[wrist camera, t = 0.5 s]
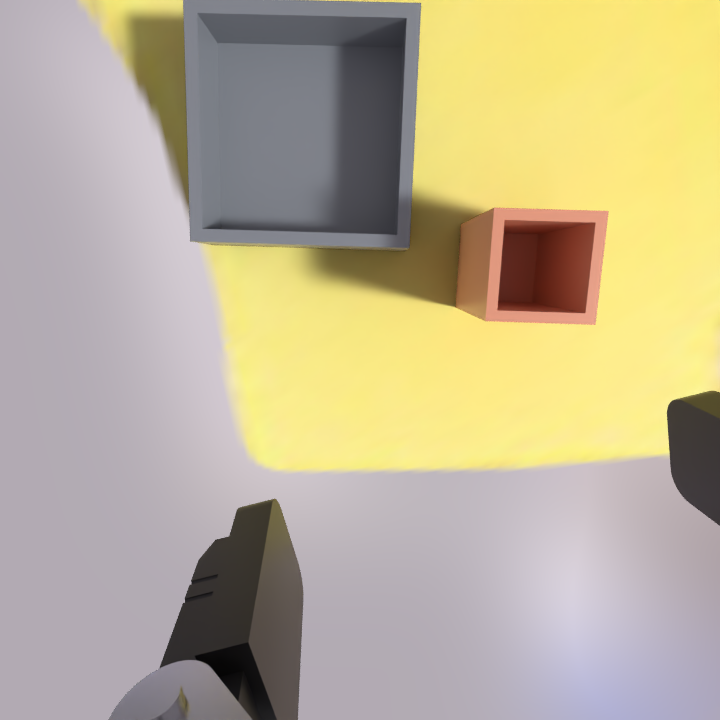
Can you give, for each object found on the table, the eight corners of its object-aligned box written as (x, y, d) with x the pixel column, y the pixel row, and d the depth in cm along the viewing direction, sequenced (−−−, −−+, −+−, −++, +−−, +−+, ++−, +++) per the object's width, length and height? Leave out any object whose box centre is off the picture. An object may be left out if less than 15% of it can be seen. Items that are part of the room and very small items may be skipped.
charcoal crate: (210, 36, 34) (183, -3, 30) (413, 41, 34) (421, 3, 29) (214, 245, 37) (190, 241, 32) (404, 250, 37) (409, 248, 32)
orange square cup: (460, 224, 36) (494, 207, 26) (543, 226, 36) (608, 211, 26) (455, 307, 37) (485, 321, 28) (536, 310, 37) (595, 324, 27)
